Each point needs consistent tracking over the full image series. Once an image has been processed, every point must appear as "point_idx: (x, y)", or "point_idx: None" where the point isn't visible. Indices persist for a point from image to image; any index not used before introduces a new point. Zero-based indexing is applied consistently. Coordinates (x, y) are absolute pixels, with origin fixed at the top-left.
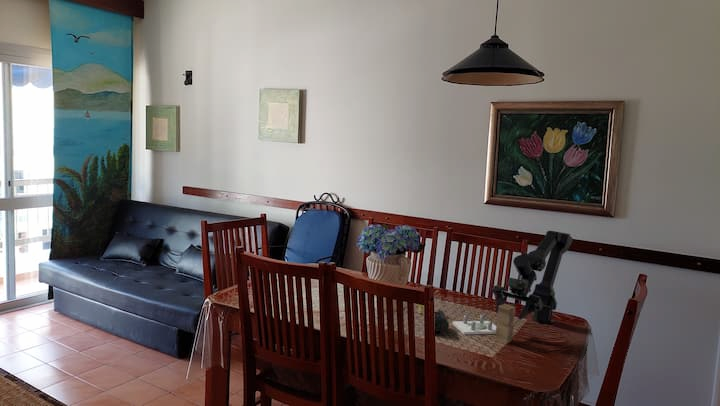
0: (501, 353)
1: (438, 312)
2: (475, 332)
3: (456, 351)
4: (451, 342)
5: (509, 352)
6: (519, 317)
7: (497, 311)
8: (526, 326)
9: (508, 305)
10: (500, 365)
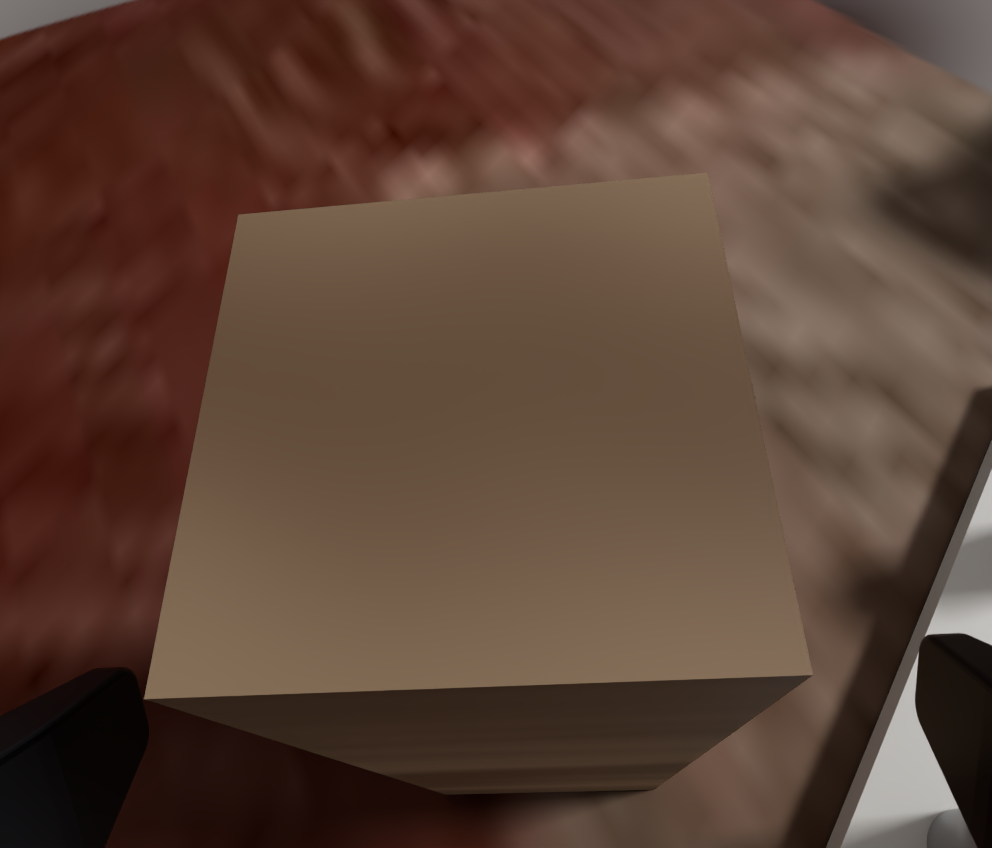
0: None
1: None
2: (968, 516)
3: (665, 30)
4: (860, 115)
5: None
6: (100, 675)
7: (930, 678)
8: None
9: (515, 628)
10: (248, 110)
